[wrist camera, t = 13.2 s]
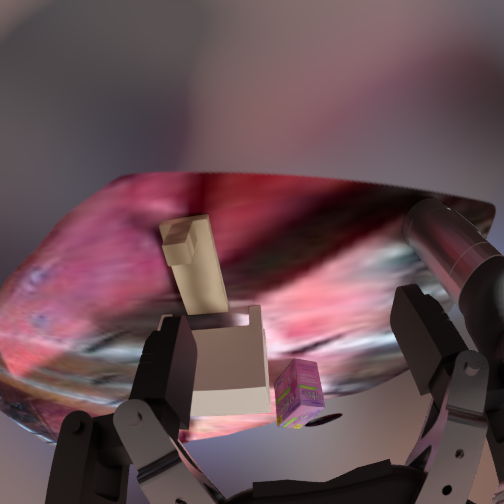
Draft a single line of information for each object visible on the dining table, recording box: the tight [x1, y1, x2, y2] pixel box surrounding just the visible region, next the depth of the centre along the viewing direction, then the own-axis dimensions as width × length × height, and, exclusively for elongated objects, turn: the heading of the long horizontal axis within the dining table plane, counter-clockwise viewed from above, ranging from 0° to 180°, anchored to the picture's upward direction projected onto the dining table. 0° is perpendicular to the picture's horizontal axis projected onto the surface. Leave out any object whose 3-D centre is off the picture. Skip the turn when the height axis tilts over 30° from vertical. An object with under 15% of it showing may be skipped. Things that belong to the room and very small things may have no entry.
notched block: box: [157, 305, 271, 416], centre depth 45 cm, size 19×8×16 cm, turn 98°
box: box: [274, 359, 325, 429], centre depth 56 cm, size 10×6×12 cm, turn 158°
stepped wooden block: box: [159, 214, 229, 315], centre depth 42 cm, size 7×17×8 cm, turn 7°
